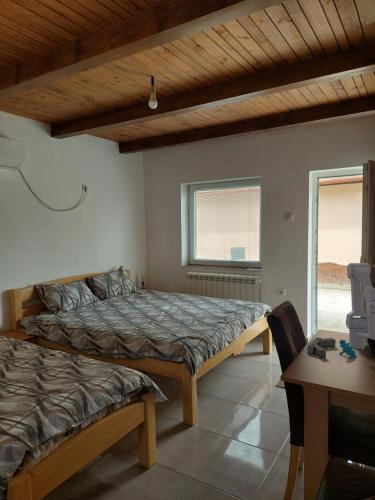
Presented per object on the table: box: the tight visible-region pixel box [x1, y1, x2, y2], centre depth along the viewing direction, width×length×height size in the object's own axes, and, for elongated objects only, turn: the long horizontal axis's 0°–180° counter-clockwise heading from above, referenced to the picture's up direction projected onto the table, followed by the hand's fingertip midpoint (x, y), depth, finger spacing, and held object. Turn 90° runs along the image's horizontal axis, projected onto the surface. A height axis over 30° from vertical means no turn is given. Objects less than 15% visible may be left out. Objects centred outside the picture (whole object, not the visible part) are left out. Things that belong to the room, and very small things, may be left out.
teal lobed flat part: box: [338, 339, 357, 359], centre depth 173 cm, size 11×6×10 cm
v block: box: [306, 336, 337, 360], centre depth 179 cm, size 23×9×4 cm, turn 144°
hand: (373, 355), depth 165 cm, fingers closed
